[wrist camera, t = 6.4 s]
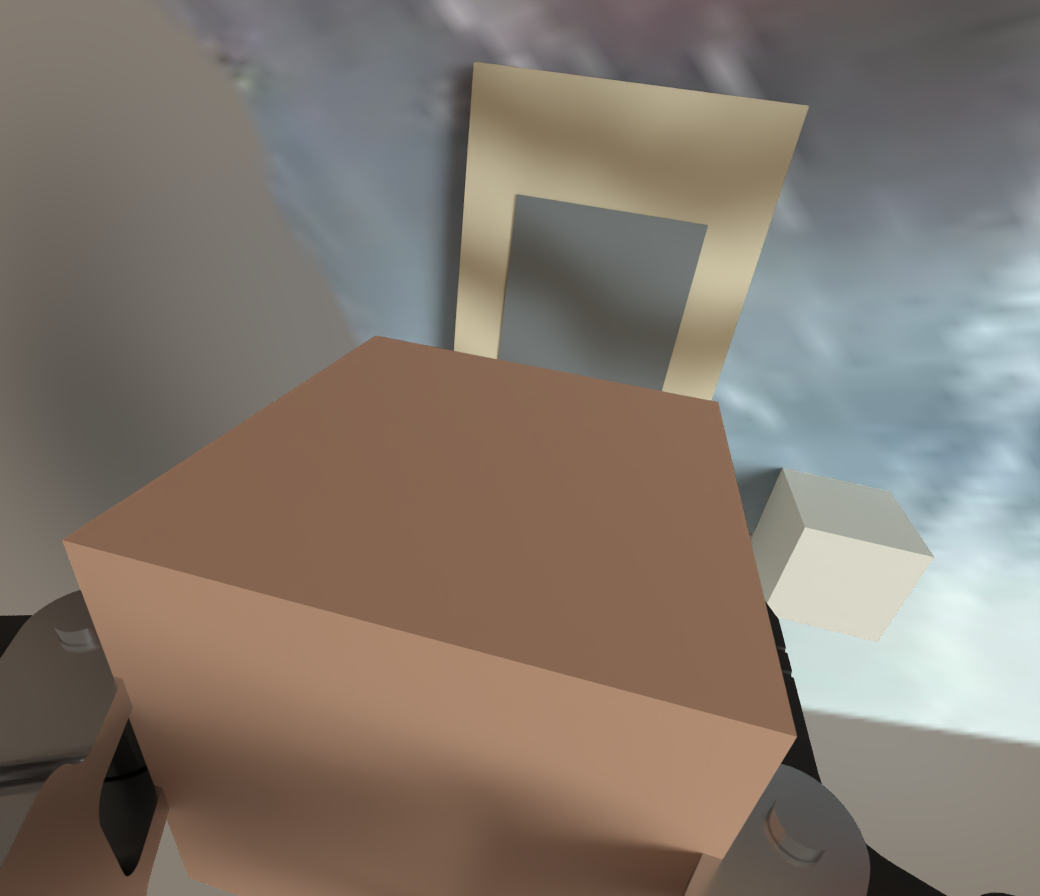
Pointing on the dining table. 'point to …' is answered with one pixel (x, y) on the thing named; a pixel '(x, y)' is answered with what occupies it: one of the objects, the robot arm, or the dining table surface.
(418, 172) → the dining table surface
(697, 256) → the beige rectangular frame
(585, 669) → the terracotta cube
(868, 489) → the white cube
